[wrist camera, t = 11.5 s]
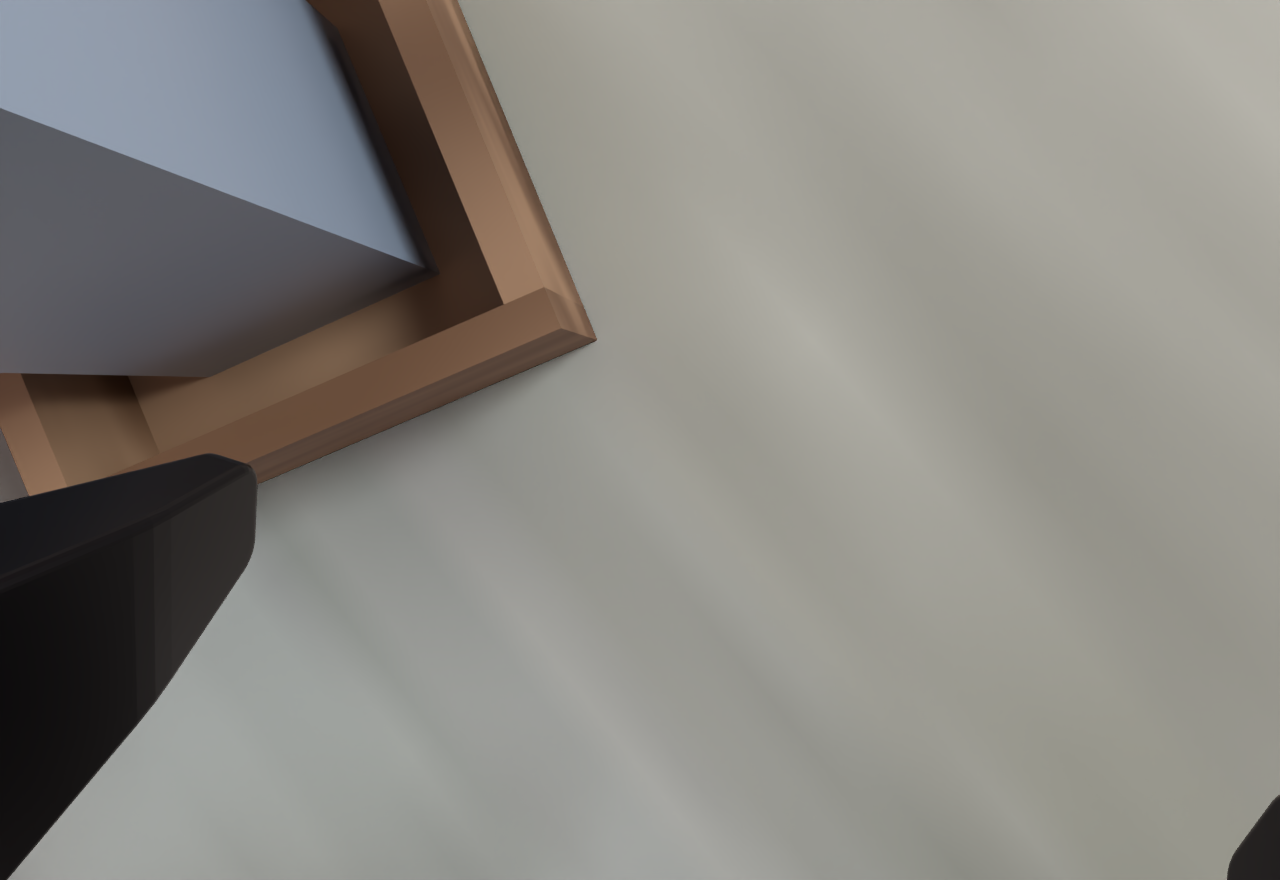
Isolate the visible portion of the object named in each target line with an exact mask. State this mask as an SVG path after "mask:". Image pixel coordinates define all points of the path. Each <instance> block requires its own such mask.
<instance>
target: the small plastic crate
mask: <svg viewBox="0 0 1280 880" xmlns="http://www.w3.org/2000/svg"><path fill="white" fill-rule="evenodd" d="M439 274H440V272H439V269H438V267H437V265H436V262H435V260H434V257H433V255H432V253H431V250H430V248H429V246H428V243H427V241H426V238H425V236H424V234H423V231H422V229H421V226H420V224H419V222H418V219H417V217H416V215H415V212H414V210H413V207H412V205H411V203H410V200H409V198H408V195H407V193H406V191H405V188H404V186H403V184H402V181H401V179H400V176H399V174H398V172H397V169H396V167H395V164H394V162H393V160H392V157H391V155H390V153H389V150H388V148H387V145H386V143H385V141H384V138H383V136H382V133H381V131H380V129H379V126H378V124H377V122H376V119H375V117H374V114H373V112H372V110H371V107H370V105H369V102H368V100H367V98H366V95H365V93H364V91H363V88H362V86H361V83H360V81H359V79H358V76H357V74H356V71H355V69H354V67H353V64H352V62H351V60H350V57H349V55H348V52H347V50H346V48H345V45H344V43H343V40H342V38H341V36H340V33H339V31H338V29H337V28H336V27H335V26H334V25H333V24H332V23H331V22H330V21H329V20H327V19H326V18H325V17H324V16H323V15H322V14H321V13H320V12H318V11H317V10H316V9H315V8H314V7H313V6H312V5H311V4H309V3H308V2H307V1H306V0H0V373H32V374H81V375H129V376H178V377H211V376H213V375H215V374H218V373H220V372H222V371H224V370H227V369H229V368H231V367H233V366H236V365H238V364H240V363H242V362H245V361H247V360H249V359H251V358H253V357H256V356H258V355H260V354H262V353H265V352H267V351H269V350H271V349H274V348H276V347H278V346H280V345H282V344H285V343H287V342H289V341H291V340H294V339H296V338H298V337H300V336H303V335H305V334H307V333H309V332H312V331H314V330H316V329H318V328H320V327H323V326H325V325H327V324H329V323H332V322H334V321H336V320H338V319H341V318H343V317H345V316H347V315H349V314H352V313H354V312H356V311H358V310H361V309H363V308H365V307H367V306H370V305H372V304H374V303H376V302H379V301H381V300H383V299H385V298H387V297H390V296H392V295H394V294H396V293H399V292H401V291H403V290H405V289H408V288H410V287H412V286H414V285H417V284H419V283H421V282H423V281H425V280H428V279H430V278H432V277H434V276H437V275H439Z"/></svg>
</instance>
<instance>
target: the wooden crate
mask: <svg viewBox="0 0 1280 880" xmlns="http://www.w3.org/2000/svg"><path fill="white" fill-rule="evenodd" d="M306 1H307V2H308V3H309V4H311V5H312V6H313V7H314V8H315V9H316V10H317V11H318V12H320V13H321V14H322V15H323V16H324V17H325V18H326V19H327V20H329V21H330V22H331V23H332V24H333V25H334V26H335V27H336V28H337V29H338V31H339V33H340V36H341V38H342V40H343V43H344V45H345V48H346V50H347V52H348V55H349V57H350V60H351V62H352V64H353V67H354V69H355V71H356V74H357V76H358V79H359V81H360V83H361V86H362V88H363V91H364V93H365V95H366V98H367V100H368V102H369V105H370V107H371V110H372V112H373V114H374V117H375V119H376V122H377V124H378V126H379V129H380V131H381V133H382V136H383V138H384V141H385V143H386V145H387V148H388V150H389V153H390V155H391V157H392V160H393V162H394V164H395V167H396V169H397V172H398V174H399V176H400V179H401V181H402V184H403V186H404V188H405V191H406V193H407V195H408V198H409V200H410V203H411V205H412V207H413V210H414V212H415V215H416V217H417V219H418V222H419V224H420V226H421V229H422V231H423V234H424V236H425V238H426V241H427V243H428V246H429V248H430V250H431V253H432V255H433V257H434V260H435V262H436V265H437V267H438V269H439V272H440V274H439V275H437V276H434V277H432V278H430V279H428V280H425V281H423V282H421V283H419V284H417V285H414V286H412V287H410V288H408V289H405V290H403V291H401V292H399V293H396V294H394V295H392V296H390V297H387V298H385V299H383V300H381V301H379V302H376V303H374V304H372V305H370V306H367V307H365V308H363V309H361V310H358V311H356V312H354V313H352V314H349V315H347V316H345V317H343V318H341V319H338V320H336V321H334V322H332V323H329V324H327V325H325V326H323V327H320V328H318V329H316V330H314V331H312V332H309V333H307V334H305V335H303V336H300V337H298V338H296V339H294V340H291V341H289V342H287V343H285V344H282V345H280V346H278V347H276V348H274V349H271V350H269V351H267V352H265V353H262V354H260V355H258V356H256V357H253V358H251V359H249V360H247V361H245V362H242V363H240V364H238V365H236V366H233V367H231V368H229V369H227V370H224V371H222V372H220V373H218V374H215V375H213V376H211V377H178V376H129V375H81V374H32V373H0V427H1V430H2V432H3V435H4V437H5V439H6V442H7V444H8V447H9V449H10V451H11V454H12V456H13V459H14V461H15V463H16V466H17V468H18V471H19V473H20V475H21V478H22V480H23V483H24V485H25V487H26V490H27V492H28V495H29V496H32V495H36V494H40V493H44V492H48V491H52V490H57V489H61V488H65V487H69V486H73V485H77V484H81V483H86V482H90V481H94V480H98V479H102V478H106V477H110V476H115V475H119V474H123V473H127V472H131V471H135V470H139V469H144V468H148V467H152V466H156V465H160V464H164V463H168V462H173V461H177V460H181V459H185V458H189V457H193V456H197V455H202V454H207V453H213V454H217V455H221V456H224V457H227V458H230V459H234V460H237V461H240V462H243V463H246V464H249V465H250V466H251V467H252V468H253V469H254V470H255V472H256V476H257V484H259V483H262V482H264V481H266V480H269V479H271V478H274V477H276V476H278V475H281V474H283V473H285V472H288V471H290V470H292V469H295V468H297V467H299V466H302V465H304V464H306V463H309V462H311V461H314V460H316V459H318V458H321V457H323V456H325V455H328V454H330V453H332V452H335V451H337V450H339V449H342V448H344V447H346V446H349V445H351V444H354V443H356V442H358V441H361V440H363V439H365V438H368V437H370V436H372V435H375V434H377V433H379V432H382V431H384V430H387V429H389V428H391V427H394V426H396V425H398V424H401V423H403V422H405V421H408V420H410V419H412V418H415V417H417V416H419V415H422V414H424V413H427V412H429V411H431V410H434V409H436V408H438V407H441V406H443V405H445V404H448V403H450V402H452V401H455V400H457V399H459V398H462V397H464V396H467V395H469V394H471V393H474V392H476V391H478V390H481V389H483V388H485V387H488V386H490V385H492V384H495V383H497V382H500V381H502V380H504V379H507V378H509V377H511V376H514V375H516V374H518V373H521V372H523V371H525V370H528V369H530V368H532V367H535V366H537V365H540V364H542V363H544V362H547V361H549V360H551V359H554V358H556V357H558V356H561V355H563V354H565V353H568V352H570V351H572V350H575V349H577V348H580V347H582V346H584V345H587V344H589V343H591V342H594V341H596V340H597V338H596V336H595V333H594V331H593V328H592V326H591V324H590V321H589V319H588V316H587V314H586V311H585V309H584V307H583V304H582V302H581V299H580V297H579V294H578V292H577V290H576V287H575V285H574V282H573V280H572V277H571V275H570V273H569V270H568V268H567V265H566V263H565V260H564V258H563V256H562V253H561V251H560V248H559V246H558V243H557V241H556V239H555V236H554V234H553V231H552V229H551V226H550V224H549V222H548V219H547V217H546V214H545V212H544V210H543V207H542V205H541V202H540V200H539V197H538V195H537V193H536V190H535V188H534V185H533V183H532V180H531V178H530V176H529V173H528V171H527V168H526V166H525V163H524V161H523V159H522V156H521V154H520V151H519V149H518V146H517V144H516V142H515V139H514V137H513V134H512V132H511V129H510V127H509V125H508V122H507V120H506V117H505V115H504V112H503V110H502V108H501V105H500V103H499V100H498V98H497V95H496V93H495V91H494V88H493V86H492V83H491V81H490V78H489V76H488V74H487V71H486V69H485V66H484V64H483V61H482V59H481V57H480V54H479V52H478V49H477V47H476V44H475V42H474V40H473V37H472V35H471V32H470V30H469V27H468V25H467V23H466V20H465V18H464V15H463V13H462V10H461V8H460V6H459V3H458V1H457V0H306Z"/></svg>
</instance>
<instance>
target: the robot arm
mask: <svg viewBox="0 0 1280 880" xmlns="http://www.w3.org/2000/svg"><path fill="white" fill-rule="evenodd" d="M256 506H257V476H256V472H255V470H254V469H253V468H252V467H251V466H250V465H249V464H246V463H243V462H240V461H237V460H234V459H230V458H227V457H224V456H221V455H217V454H213V453H207V454H202V455H197V456H193V457H189V458H185V459H181V460H177V461H173V462H168V463H164V464H160V465H156V466H152V467H148V468H144V469H139V470H135V471H131V472H127V473H123V474H119V475H115V476H110V477H106V478H102V479H98V480H94V481H90V482H86V483H81V484H77V485H73V486H69V487H65V488H61V489H57V490H52V491H48V492H44V493H40V494H36V495H32V496H28V497H24V498H19V499H15V500H11V501H7V502H3V503H0V880H7V879H8V878H9V877H10V876H11V875H12V873H13V872H14V871H15V870H16V869H17V867H18V866H19V865H20V864H21V863H22V861H23V860H24V859H25V858H26V857H27V855H28V854H29V853H30V852H31V851H32V850H33V848H34V847H35V846H36V845H37V844H38V842H39V841H40V840H41V839H42V838H43V836H44V835H45V834H46V833H47V832H48V830H49V829H50V828H51V827H52V826H53V824H54V823H55V822H56V821H57V820H58V819H59V817H60V816H61V815H62V814H63V813H64V811H65V810H66V809H67V808H68V807H69V805H70V804H71V803H72V802H73V801H74V799H75V798H76V797H77V796H78V795H79V794H80V792H81V791H82V790H83V789H84V788H85V786H86V785H87V784H88V783H89V782H90V780H91V779H92V778H93V777H94V776H95V774H96V773H97V772H98V771H99V770H100V769H101V767H102V766H103V765H104V764H105V763H106V761H107V760H108V759H109V758H110V757H111V755H112V754H113V753H114V752H115V751H116V749H117V748H118V747H119V746H120V745H121V744H122V742H123V741H124V740H125V739H126V738H127V736H128V735H129V734H130V733H131V732H132V730H133V729H134V728H135V727H136V726H137V724H138V723H139V722H140V721H141V719H142V718H143V717H144V716H145V714H146V713H147V712H148V711H149V709H150V708H151V707H152V706H153V704H154V703H155V702H156V701H157V699H158V698H159V696H160V695H161V694H162V692H163V691H164V689H165V688H166V686H167V685H168V684H169V682H170V681H171V679H172V678H173V676H174V675H175V673H176V672H177V670H178V669H179V667H180V666H181V664H182V663H183V661H184V660H185V658H186V657H187V655H188V654H189V652H190V651H191V649H192V648H193V646H194V645H195V643H196V642H197V640H198V639H199V637H200V636H201V634H202V633H203V631H204V630H205V628H206V627H207V625H208V624H209V622H210V621H211V619H212V618H213V616H214V615H215V613H216V612H217V610H218V609H219V607H220V606H221V604H222V603H223V601H224V600H225V598H226V597H227V595H228V594H229V592H230V591H231V589H232V588H233V586H234V585H235V583H236V582H237V580H238V579H239V577H240V576H241V574H242V573H243V571H244V570H245V568H246V566H247V565H248V562H249V560H250V558H251V555H252V552H253V548H254V543H255V528H256ZM1227 880H1280V795H1278V796H1277V797H1276V798H1275V799H1274V800H1273V801H1272V802H1271V804H1270V805H1269V806H1268V808H1267V809H1266V810H1265V812H1264V813H1263V815H1262V816H1261V817H1260V819H1259V820H1258V821H1257V823H1256V824H1255V825H1254V827H1253V828H1252V829H1251V831H1250V832H1249V833H1248V835H1247V836H1246V838H1245V839H1244V840H1243V842H1242V843H1241V844H1240V846H1239V847H1238V848H1237V850H1236V851H1235V853H1234V855H1233V856H1232V859H1231V861H1230V864H1229V868H1228V875H1227Z"/></svg>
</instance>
